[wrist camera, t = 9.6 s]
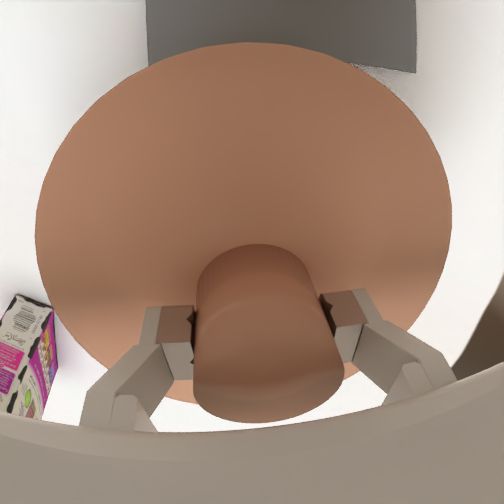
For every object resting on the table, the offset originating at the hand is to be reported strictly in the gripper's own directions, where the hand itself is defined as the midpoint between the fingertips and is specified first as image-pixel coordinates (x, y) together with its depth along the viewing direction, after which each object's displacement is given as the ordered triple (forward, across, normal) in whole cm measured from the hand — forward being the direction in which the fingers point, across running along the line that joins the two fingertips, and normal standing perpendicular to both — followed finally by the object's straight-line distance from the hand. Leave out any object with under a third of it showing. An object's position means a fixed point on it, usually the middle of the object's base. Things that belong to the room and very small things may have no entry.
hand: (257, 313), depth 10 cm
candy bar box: (+14, +23, +15) cm, 31 cm away
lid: (+2, 0, 0) cm, 2 cm away
